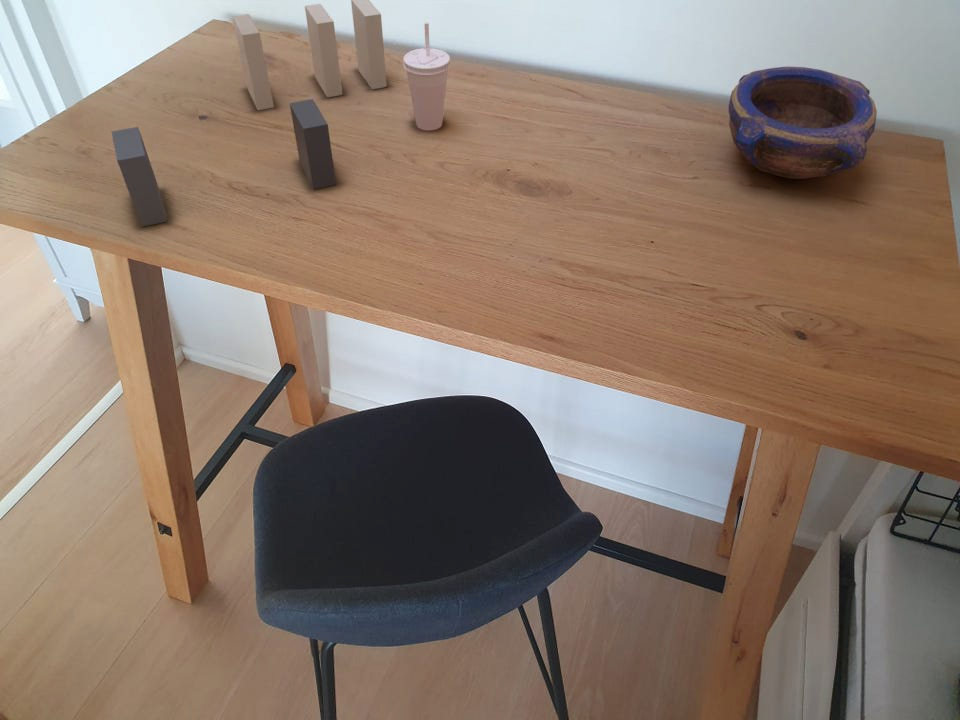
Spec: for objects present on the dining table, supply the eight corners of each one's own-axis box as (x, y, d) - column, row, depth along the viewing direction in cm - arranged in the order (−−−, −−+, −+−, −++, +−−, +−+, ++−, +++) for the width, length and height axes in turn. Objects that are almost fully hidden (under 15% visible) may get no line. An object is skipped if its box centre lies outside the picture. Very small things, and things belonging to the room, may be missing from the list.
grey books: (141, 227, 92) (117, 160, 85) (135, 196, 96) (111, 131, 90) (336, 184, 98) (327, 120, 92) (321, 158, 103) (312, 94, 96)
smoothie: (456, 116, 111) (455, 18, 101) (444, 137, 107) (442, 37, 97) (414, 111, 112) (408, 13, 102) (401, 132, 108) (394, 32, 98)
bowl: (706, 184, 99) (724, 113, 92) (725, 121, 111) (742, 53, 104) (851, 213, 95) (882, 140, 88) (855, 144, 107) (882, 75, 100)
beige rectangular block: (257, 110, 112) (242, 35, 104) (247, 90, 116) (232, 16, 109) (274, 107, 113) (259, 32, 105) (263, 87, 117) (249, 13, 109)
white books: (327, 97, 115) (317, 23, 107) (315, 78, 119) (304, 5, 112) (386, 86, 118) (381, 13, 110) (372, 68, 122) (366, -4, 114)
